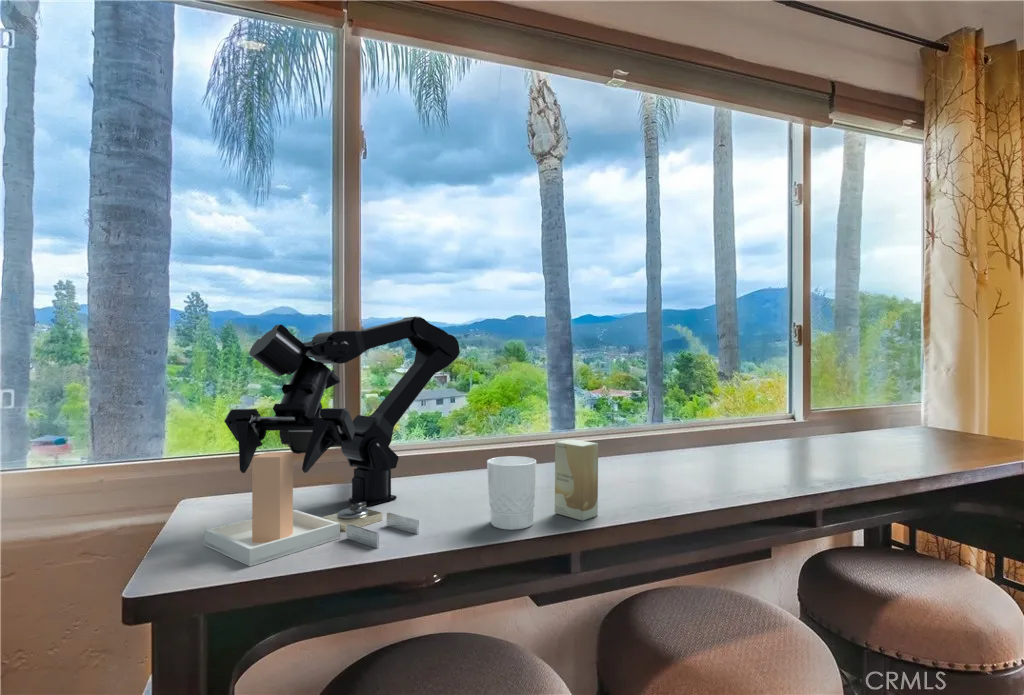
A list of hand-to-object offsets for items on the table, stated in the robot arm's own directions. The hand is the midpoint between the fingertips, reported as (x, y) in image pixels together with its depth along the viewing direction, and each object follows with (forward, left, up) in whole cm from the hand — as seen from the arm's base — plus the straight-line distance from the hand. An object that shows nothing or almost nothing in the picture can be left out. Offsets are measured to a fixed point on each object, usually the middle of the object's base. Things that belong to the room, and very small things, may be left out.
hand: (273, 471), depth 76 cm
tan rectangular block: (0, 0, -9) cm, 10 cm away
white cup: (-27, +23, -10) cm, 37 cm away
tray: (0, 0, -10) cm, 10 cm away
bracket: (-11, +7, -10) cm, 17 cm away
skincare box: (-37, +29, -10) cm, 48 cm away
